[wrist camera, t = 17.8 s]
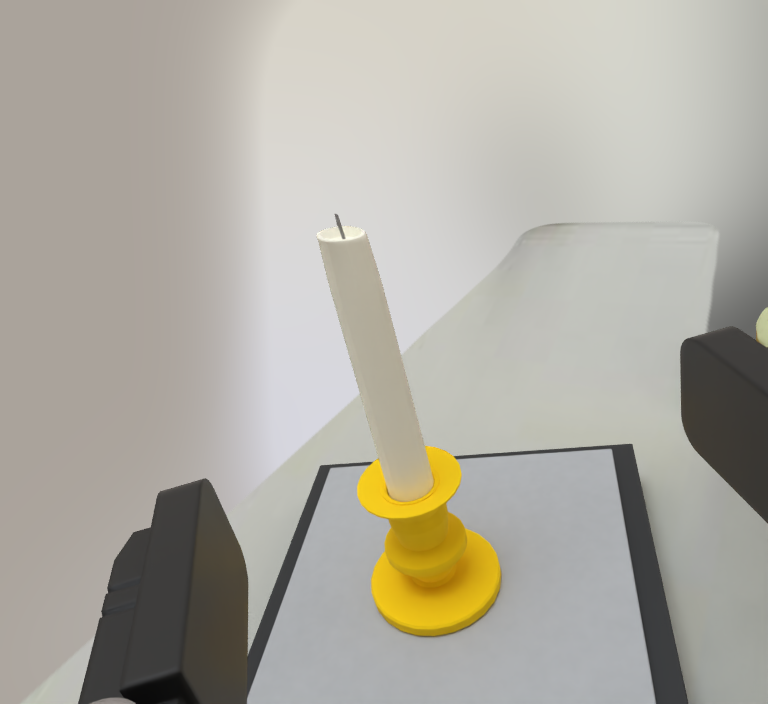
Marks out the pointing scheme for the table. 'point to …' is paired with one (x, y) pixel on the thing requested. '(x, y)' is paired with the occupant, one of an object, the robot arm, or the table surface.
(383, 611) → the candle
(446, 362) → the table surface
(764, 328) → the decorated donut
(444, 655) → the kitchen scale
